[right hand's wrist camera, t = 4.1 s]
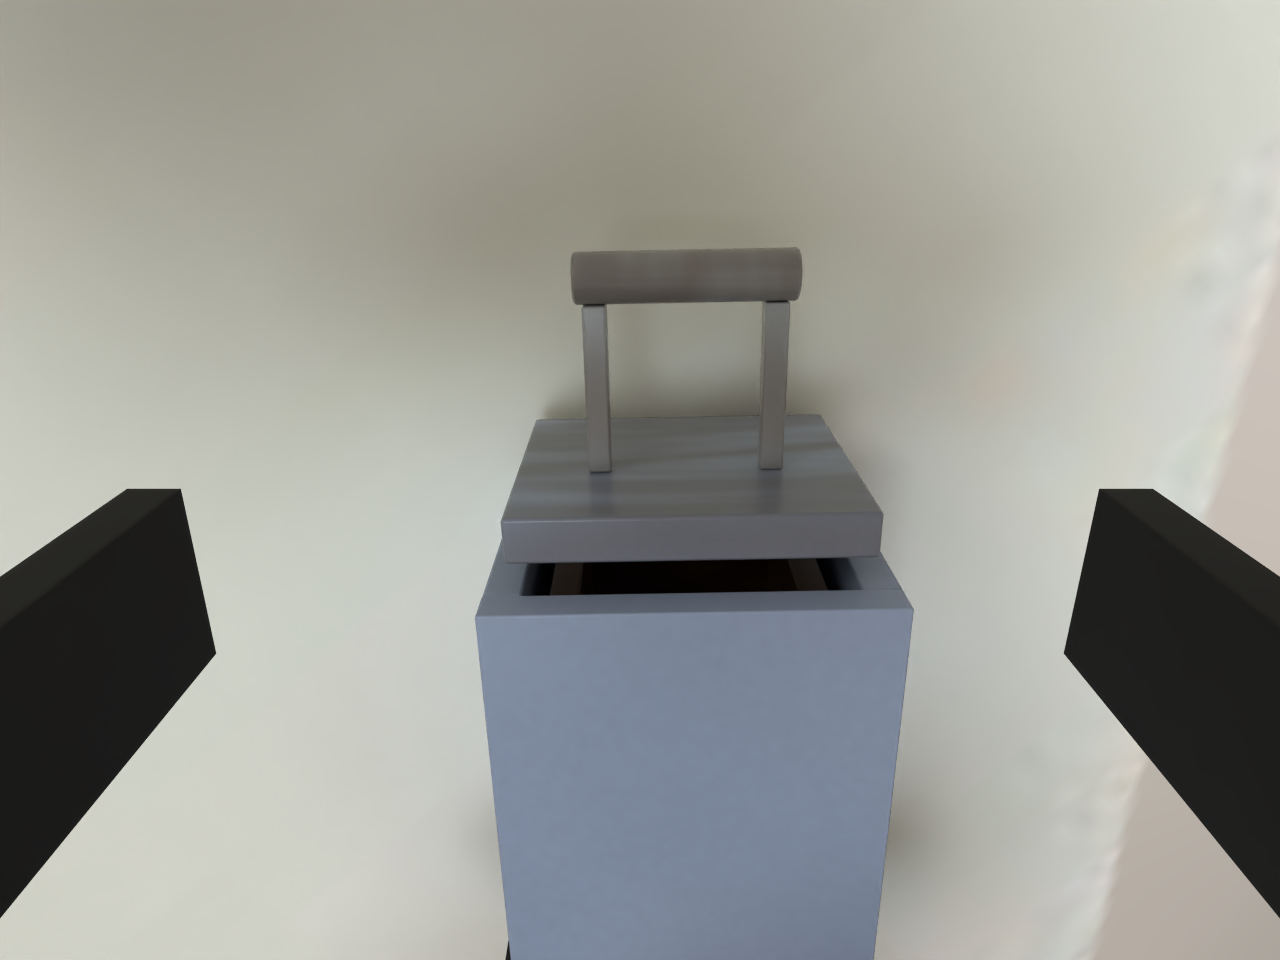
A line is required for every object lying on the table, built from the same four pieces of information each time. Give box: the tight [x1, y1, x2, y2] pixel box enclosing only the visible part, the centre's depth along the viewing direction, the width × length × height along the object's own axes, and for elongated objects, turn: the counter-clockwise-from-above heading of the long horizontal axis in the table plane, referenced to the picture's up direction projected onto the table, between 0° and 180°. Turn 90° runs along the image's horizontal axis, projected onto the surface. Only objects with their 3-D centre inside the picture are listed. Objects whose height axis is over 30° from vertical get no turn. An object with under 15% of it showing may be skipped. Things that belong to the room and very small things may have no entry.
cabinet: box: [475, 540, 914, 960], centre depth 28 cm, size 20×10×10 cm, turn 1°
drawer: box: [501, 248, 883, 596], centre depth 26 cm, size 25×9×8 cm, turn 1°
